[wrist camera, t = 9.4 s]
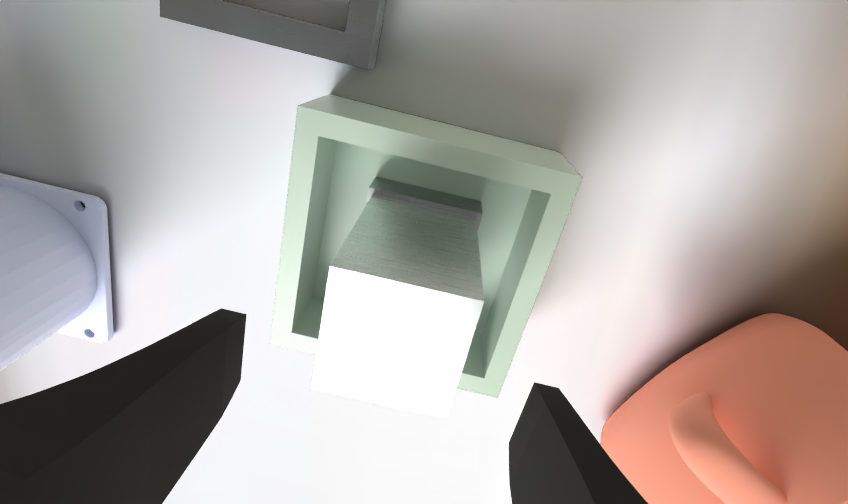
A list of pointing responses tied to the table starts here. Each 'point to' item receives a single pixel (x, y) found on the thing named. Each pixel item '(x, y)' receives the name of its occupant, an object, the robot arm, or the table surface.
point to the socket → (289, 28)
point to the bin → (429, 168)
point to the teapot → (741, 420)
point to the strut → (402, 300)
